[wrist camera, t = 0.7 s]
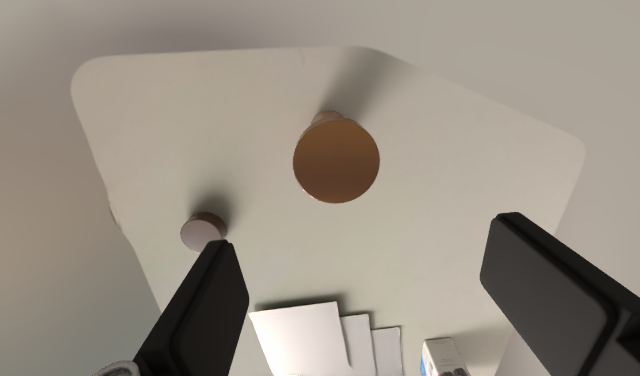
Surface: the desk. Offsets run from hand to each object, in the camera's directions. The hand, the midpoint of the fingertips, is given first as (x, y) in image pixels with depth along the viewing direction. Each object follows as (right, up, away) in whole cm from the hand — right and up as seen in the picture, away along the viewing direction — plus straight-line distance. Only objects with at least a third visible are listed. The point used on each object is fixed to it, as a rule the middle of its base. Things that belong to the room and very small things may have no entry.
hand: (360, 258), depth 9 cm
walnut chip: (-17, -3, +25) cm, 30 cm away
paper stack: (+1, -26, +35) cm, 44 cm away
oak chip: (0, +5, +10) cm, 11 cm away
